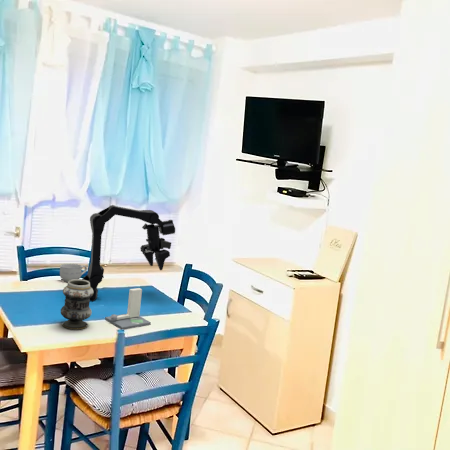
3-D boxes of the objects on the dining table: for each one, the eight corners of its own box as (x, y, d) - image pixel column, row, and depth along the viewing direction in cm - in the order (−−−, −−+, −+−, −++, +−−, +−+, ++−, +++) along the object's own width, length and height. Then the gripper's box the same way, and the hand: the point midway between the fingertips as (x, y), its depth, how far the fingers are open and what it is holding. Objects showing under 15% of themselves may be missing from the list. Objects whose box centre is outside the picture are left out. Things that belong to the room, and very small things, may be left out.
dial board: (105, 319, 227) (105, 316, 227) (132, 314, 237) (133, 312, 237) (122, 329, 218) (122, 327, 218) (150, 324, 228) (150, 322, 228)
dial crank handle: (109, 319, 224) (112, 291, 222) (136, 315, 233) (139, 287, 231) (112, 321, 223) (115, 292, 221) (139, 316, 232) (142, 289, 230)
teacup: (61, 283, 268) (62, 268, 267) (56, 277, 277) (58, 262, 276) (89, 283, 274) (90, 268, 273) (84, 277, 284) (85, 262, 283)
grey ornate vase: (90, 331, 212) (94, 287, 209) (58, 330, 210) (61, 285, 207) (91, 320, 224) (94, 278, 221) (60, 319, 221) (64, 276, 218)
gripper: (178, 236, 255) (180, 268, 258) (158, 230, 269) (161, 260, 273) (157, 241, 248) (160, 274, 252) (138, 234, 263) (141, 265, 267)
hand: (156, 268), depth 261 cm, fingers open, 9 cm apart
